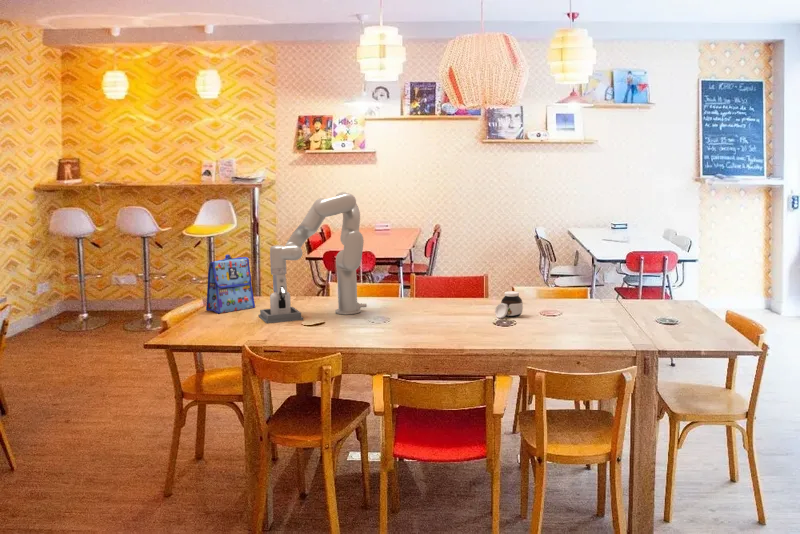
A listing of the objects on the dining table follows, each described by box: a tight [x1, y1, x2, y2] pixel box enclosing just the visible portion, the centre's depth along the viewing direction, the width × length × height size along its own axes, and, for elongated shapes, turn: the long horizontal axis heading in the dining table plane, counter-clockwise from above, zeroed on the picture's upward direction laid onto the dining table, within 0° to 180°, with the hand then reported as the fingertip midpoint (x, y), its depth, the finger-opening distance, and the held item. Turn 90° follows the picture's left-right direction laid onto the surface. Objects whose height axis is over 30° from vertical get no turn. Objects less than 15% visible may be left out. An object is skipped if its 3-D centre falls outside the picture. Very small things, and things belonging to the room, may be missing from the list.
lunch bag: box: [205, 254, 256, 314], centre depth 443 cm, size 22×14×29 cm, turn 131°
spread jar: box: [494, 290, 524, 319], centre depth 411 cm, size 12×11×12 cm
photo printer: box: [269, 291, 292, 315], centre depth 419 cm, size 10×4×12 cm, turn 121°
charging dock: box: [258, 306, 304, 325], centre depth 420 cm, size 18×18×4 cm
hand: (280, 306), depth 419 cm, fingers open, 7 cm apart
